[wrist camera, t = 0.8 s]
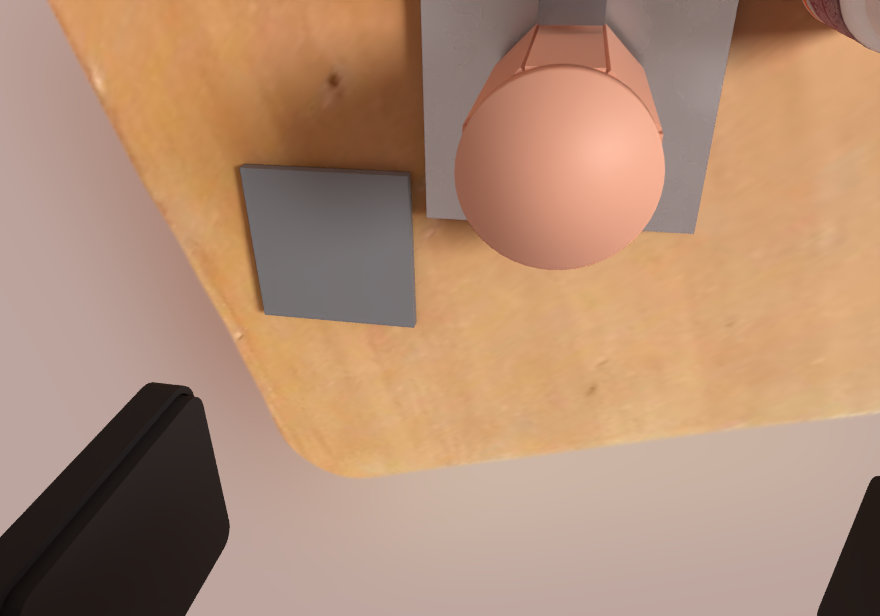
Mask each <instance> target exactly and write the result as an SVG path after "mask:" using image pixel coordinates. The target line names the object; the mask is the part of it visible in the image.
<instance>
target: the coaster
mask: <svg viewBox="0 0 880 616" xmlns="http://www.w3.org/2000/svg"><path fill="white" fill-rule="evenodd" d="M240 174H241V179H242V185H243V191H244V197H245V202H246V208H247V214H248V220H249V225H250V231H251V237H252V243H253V249H254V254H255V260H256V266H257V272H258V277H259V283H260V289H261V295H262V300H263V306H264V312H265V315H275V316H286V317H297V318H309V319H320V320H332V321H343V322H354V323H366V324H377V325H388V326H400V327H411V328H414V327H415V324H416V301H415V276H414V251H413V226H412V201H411V176H410V172H396V171H376V170H356V169H336V168H316V167H296V166H275V165H255V164H244V165H242V166H241V167H240Z"/></svg>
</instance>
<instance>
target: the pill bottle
mask: <svg viewBox="0 0 880 616" xmlns="http://www.w3.org/2000/svg"><path fill="white" fill-rule="evenodd" d="M802 2H803V4H804V6H805V7H806V9H807V10H808V11H809V12H810V14H811V15H812V16H814V17H815V18H816V19H817V20H819V21H820V22H822V23H824V24H826V25H827V26H829V27H831V28H833V29H835V30H837V31H838V32H840V33H842V34H844V35H846V36H847V37H849V38H851V39H853V40H855V41H857V42H858V43H860V44H862V45H863V46H865V47H866V48H868V49H870V50H873V51H876V52H878V53H880V0H802Z"/></svg>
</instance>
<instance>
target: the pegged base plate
mask: <svg viewBox="0 0 880 616" xmlns="http://www.w3.org/2000/svg"><path fill="white" fill-rule="evenodd" d="M738 2H739V0H421V30H422V66H423V102H424V137H425V173H426V208H427V218H440V219H457V220H467V219H466V217H465V215H464V213H463V211H462V209H461V206H460V203H459V200H458V197H457V192H456V187H455V177H454V169H455V158H456V153H457V148H458V145H459V142H460V139H461V136H462V126H463V124H464V121H465V120H466V118H467V116H468V114H469V112H470V110H471V109H472V107H473V105H474V103H475V101H476V99H477V98H478V96H479V94H480V92H481V90H482V88H483V86H484V85H485V83H486V81H487V79H488V77H489V75H490V74H491V72H492V70H493V68H494V66H495V65H496V64H497V63H498V62H499V61H500V60H501V59H502V58H503V57H504V56H505V55H506V54H507V53H508V52H509V51H510V50H511V49H512V48H513V47H514V46H515V45H516V44H517V43H518V42H519V41H520V40H521V39H522V38H523V37H524V36H525V35H526V34H527V33H528V32H529V31H530V30H531V29H532V28H533V27H534V26H535V25H536V24H537V25H584V26H604V25H605V24H607V26H608V27H609V28H610V29H611V30H612V31H613V33H614V34H615V35H616V36H617V37H618V39H619V40H620V41H621V42H622V43H623V45H624V46H625V47H626V48H627V49H628V50H629V52H630V53H631V54H632V55H633V56H634V58H635V59H636V60H637V61H638V62H639V63H640V65H641V66H642V67H643V68H644V71H645V74H646V78H647V81H648V84H649V88H650V91H651V94H652V97H653V101H654V104H655V107H656V111H657V114H658V117H659V121H660V124H661V127H662V131H663V140H662V148H663V153H664V160H665V176H664V185H663V189H662V194H661V197H660V200H659V202H658V205H657V208H656V210H655V212H654V214H653V215H652V217H651V219H650V221H649V222H648V223H647V225H646V226H645V228H644V229H643V230H642V231H654V232H671V233H687V234H694V231H695V226H696V221H697V216H698V211H699V205H700V200H701V195H702V190H703V184H704V179H705V174H706V169H707V164H708V158H709V153H710V148H711V143H712V138H713V132H714V127H715V122H716V117H717V111H718V106H719V101H720V96H721V91H722V85H723V80H724V75H725V70H726V65H727V59H728V54H729V49H730V44H731V38H732V33H733V28H734V23H735V18H736V12H737V7H738Z"/></svg>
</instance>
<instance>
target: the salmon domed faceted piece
mask: <svg viewBox="0 0 880 616" xmlns="http://www.w3.org/2000/svg"><path fill="white" fill-rule="evenodd" d="M662 140H663V131H662V127H661V124H660V121H659V117H658V114H657V111H656V107H655V104H654V101H653V97H652V94H651V91H650V88H649V84H648V81H647V78H646V74H645V71H644V68H643V67H642V66H641V65H640V63H639V62H638V61H637V60H636V59H635V58H634V56H633V55H632V54H631V53H630V52H629V50H628V49H627V48H626V47H625V46H624V45H623V43H622V42H621V41H620V40H619V39H618V37H617V36H616V35H615V34H614V33H613V31H612V30H611V29H610V28H609V27H608V26H607V24H605V25H604V26H584V25H537V24H536V25H535V26H534V27H533V28H532V29H531V30H530V31H529V32H528V33H527V34H526V35H525V36H524V37H523V38H522V39H521V40H520V41H519V42H518V43H517V44H516V45H515V46H514V47H513V48H512V49H511V50H510V51H509V52H508V53H507V54H506V55H505V56H504V57H503V58H502V59H501V60H500V61H499V62H498V63H497V64H496V65H495V66H494V68H493V70H492V72H491V74H490V75H489V77H488V79H487V81H486V83H485V85H484V86H483V88H482V90H481V92H480V94H479V96H478V98H477V99H476V101H475V103H474V105H473V107H472V109H471V110H470V112H469V114H468V116H467V118H466V120H465V121H464V124H463V126H462V136H461V139H460V142H459V145H458V148H457V153H456V158H455V169H454V177H455V187H456V192H457V197H458V200H459V203H460V206H461V209H462V211H463V213H464V215H465V217H466V219H467V221H468V222H469V224H470V225H471V226H472V228H473V229H474V231H475V232H476V233H477V234H478V235H479V236H480V238H481V239H482V240H483V241H484V242H486V243H487V244H488V245H489V246H490V247H491V248H493V249H494V250H495V251H497V252H498V253H500V254H501V255H503V256H505V257H507V258H509V259H511V260H513V261H515V262H518V263H520V264H523V265H526V266H530V267H534V268H539V269H547V270H567V269H576V268H581V267H585V266H589V265H592V264H595V263H598V262H600V261H602V260H605V259H607V258H609V257H611V256H613V255H614V254H616V253H617V252H619V251H620V250H622V249H623V248H625V247H626V246H627V245H628V244H629V243H631V242H632V241H633V240H634V239H635V238H636V237H637V236H638V235H639V234H640V233H641V232H642V230H643V229H644V228H645V226H646V225H647V223H648V222H649V221H650V219H651V217H652V215H653V214H654V212H655V210H656V208H657V205H658V202H659V200H660V197H661V194H662V189H663V185H664V176H665V160H664V153H663V148H662Z"/></svg>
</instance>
